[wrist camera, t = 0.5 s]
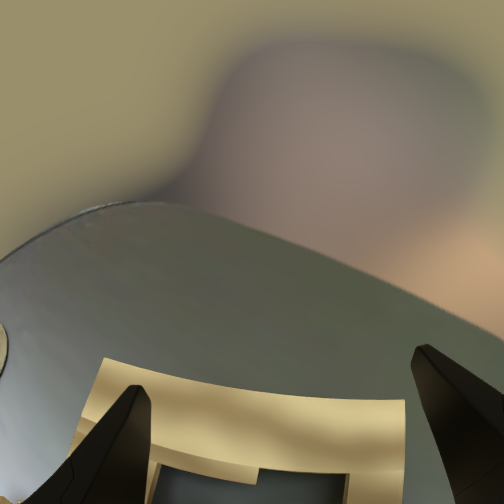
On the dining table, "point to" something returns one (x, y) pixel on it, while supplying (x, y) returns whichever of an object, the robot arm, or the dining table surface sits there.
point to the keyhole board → (260, 433)
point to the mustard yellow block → (3, 503)
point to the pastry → (2, 347)
